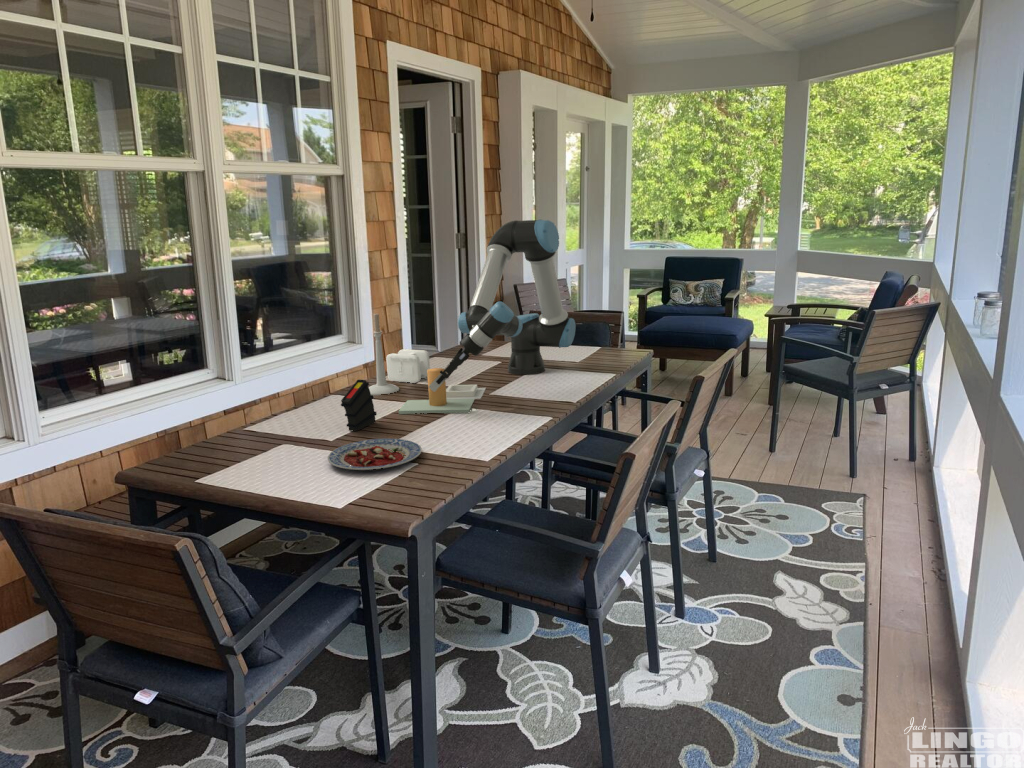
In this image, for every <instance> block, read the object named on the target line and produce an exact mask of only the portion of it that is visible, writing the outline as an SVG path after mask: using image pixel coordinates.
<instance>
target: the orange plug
mask: <svg viewBox="0 0 1024 768" xmlns="http://www.w3.org/2000/svg"><path fill="white" fill-rule="evenodd" d="M444 370H445V369H444V368H443V367H434V368H430V369H428V370H427V376H428V377H427V386H428V388H427V389H428V400H429V405H431V406H443V405H446V404H447V399H446V389H447V386H446V385H447V383H446V380H445V381H444V382H443V384H442V385H441V386H440V387H439V388H438V389H437V390H436V391H435V392H433V391H432V390H431V389H430V388H429V386H430V384H431V383H432V382H433V381H434V380H435V379H436V378H437V377H438V376H439V375H440V374H441V373H440V371H442V372H443V371H444Z"/></svg>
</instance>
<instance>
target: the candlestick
mask: <svg viewBox="0 0 1024 768" xmlns="http://www.w3.org/2000/svg"><path fill="white" fill-rule="evenodd" d="M373 326H374V327H373V328H374V331H372V333H373V337H374V338H375V362H376V363H375V364H376V365H375V367H376V369H375V370H376V384H373V385H369V386H368V387H369V390H370V393H371V395H373V396H382V395H381V394H388V395H391V394H390V393H393V394H395V393H394V392H396V393H398V392H399V391H400V387H399V386H397V385H395V384H392V383H388V382H387V377H386V369H385V361H384V356H383V349H382V348H383V347H382V341H381V337H382V333H383V331H382V330H381V328H380V327H381V325H380V314H379V313H373ZM397 391H398V392H397Z"/></svg>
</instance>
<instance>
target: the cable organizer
mask: <svg viewBox="0 0 1024 768" xmlns="http://www.w3.org/2000/svg"><path fill="white" fill-rule="evenodd" d="M385 358H386V359H385V360H386V370H387V371H386V372H387V378H388V380H389V381H392V382H393V381H399V382H398V383H407V382H410V383H409V384H412V383H414V384H415V383H418V382H420V381H421V380H422V379H421V378H425V379H428V376H427V370H428V369H431V367H430V366H431V363H430V353H429V352H428V351H427V350H423V349H407V348H403V349H400V350H399V351H398V352H397V353H393V352H391V353H390V354H387V355H386V357H385Z"/></svg>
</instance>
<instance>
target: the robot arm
mask: <svg viewBox="0 0 1024 768" xmlns="http://www.w3.org/2000/svg"><path fill="white" fill-rule="evenodd" d="M559 247H560V234H559V230H558V228H557V226H556V225H555V223H554V222H552V220H549V219H547V220H546V219H535V220H534V219H532V220H531V219H530V220H511V221H508V222H506V223H504V224H503V225H501V226H500V227H498V229H497V230H496V231H495V232H494V234H493V235H492V236H491V238H490V239H489V242H488V244H487V247H486V254H487V256H486V258H485V261H484V265H483V267H482V270H481V273H480V276H479V280H478V282H477V285H476V288H475V291H474V294H473V297H472V300H471V303H470V304H469V305H470V306H469V308H468V311H465V312H464V311H463V312H461V313H460V314H459V316H458V318H457V327H458V330H459V331H460V332H461V334H465V336H464V337H463V338H461V340H460V343H461V345H462V346H463V348H460V349H459V350H458V351H456V353H455V356H454V357H453V358H452V359H451V361H450V362H449V363H447V365H446V366H445V367H444V368H443V369H445V370H444V371H443V372H442V371H440V373H441V374H440V375H439V376H438V377H437V378H436V379H435V380H434V381H433V382H432V383H431V384H430V386H429V388H430V389H431V390H432V391H433V392H435V391H436V390H437V389H438V388H439V387H440V386H441V385H442V384H443V382H444V381H445V382H446V380H448V379H449V377H450V376H451V375H452V374H453V373H454V372H455V371H456V370H457V369H458V367H459V366H461V365H463V363H464V362H466V361H467V360H468V359H469V357H470V355H469V354H471V355H473V356H477V357H478V356H479V354H481V352H482V351H483V350H484V349H485V348H486V347H487V346H488V345H489V344H490V343H491V342H492V341H493V340H494V338H495V337H496V336H506V337H508V338H510V344H511V345H510V346H511V353H510V357H509V361H508V365H507V372H508V373H509V374H513V375H536V374H540V373H543V372H545V369H546V367H545V362H544V358H543V355H542V354H541V348H540V347H544V348H545V347H548V348H549V347H550V348H559V349H560V348H569V347H570V346H571V345H572V343H573V342H574V339H575V336H576V327H577V325H576V321H575V318H572V317H569V313H568V312H567V310H566V309H564V307H563V304H562V303H563V302H562V297H561V292H560V288H559V283H558V277H557V271H556V267H555V262H554V257H555V256H556V253H557V250H558V249H559ZM515 253H523V254H524V259H525V260H526V261H528V262H529V264H530V267H531V271H532V272H531V273H532V275H533V281H534V284H535V289H536V290H535V291H536V295H537V299H538V303H539V309H540V313H541V314H539V313H534V312H533V313H526V314H520V315H515V313H514V311H513V310H512V309H511V308H510V307H509V306H508V305H507V304H506V303H504V302H503V301H500V300H499V301H497V302H496V303H494V302H495V298H496V296H497V292H498V290H499V287H500V284H501V280H502V277H503V273H504V271H505V269H506V265H507V262H508V261H510V260H511V259H512V256H513V255H514V254H515Z"/></svg>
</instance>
